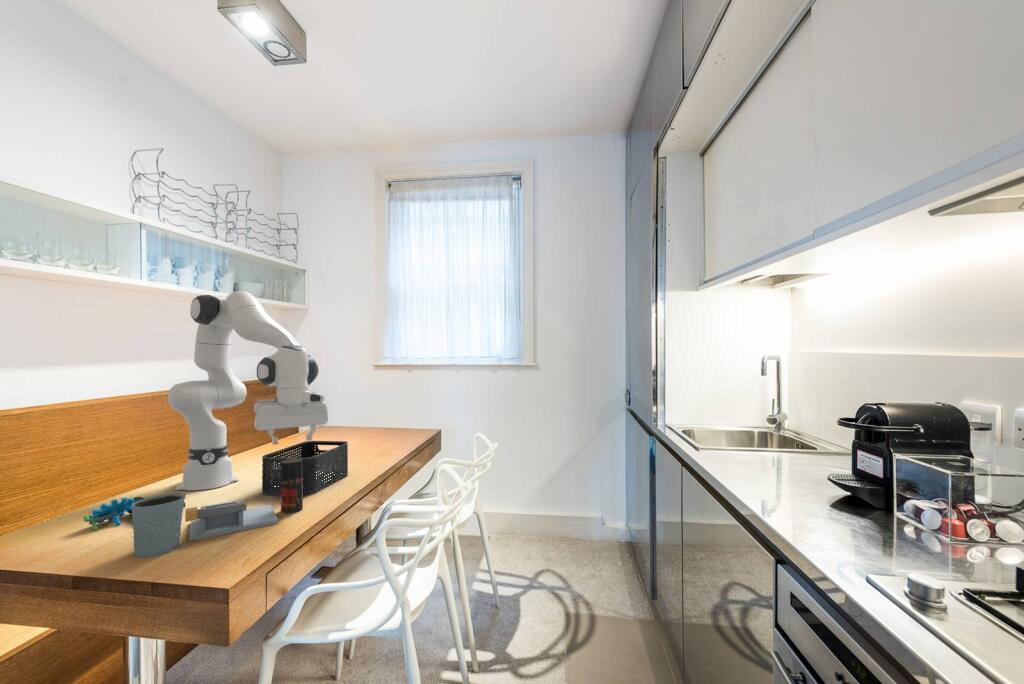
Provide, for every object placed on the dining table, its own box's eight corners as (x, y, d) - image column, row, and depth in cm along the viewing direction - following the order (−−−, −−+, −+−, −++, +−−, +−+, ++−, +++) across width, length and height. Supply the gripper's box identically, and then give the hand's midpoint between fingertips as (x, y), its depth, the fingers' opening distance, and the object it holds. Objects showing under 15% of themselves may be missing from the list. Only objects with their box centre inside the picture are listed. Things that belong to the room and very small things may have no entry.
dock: (191, 523, 122) (191, 506, 123) (271, 508, 134) (271, 493, 134) (189, 541, 110) (189, 522, 110) (277, 523, 122) (277, 506, 122)
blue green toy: (131, 509, 130) (135, 490, 125) (138, 525, 128) (143, 507, 123) (81, 526, 121) (83, 506, 116) (87, 544, 119) (90, 524, 114)
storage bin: (309, 497, 146) (309, 457, 146) (256, 495, 148) (257, 456, 149) (351, 474, 174) (351, 441, 174) (306, 473, 176) (306, 440, 177)
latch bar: (185, 518, 113) (185, 508, 113) (245, 508, 120) (245, 498, 121) (185, 521, 111) (185, 511, 111) (246, 510, 118) (246, 501, 118)
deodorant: (277, 510, 132) (278, 461, 133) (298, 505, 137) (298, 457, 137) (285, 515, 128) (285, 464, 129) (305, 509, 133) (306, 460, 133)
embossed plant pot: (122, 562, 99) (123, 509, 100) (139, 545, 108) (140, 496, 109) (176, 553, 103) (177, 502, 104) (188, 537, 112) (189, 491, 113)
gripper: (254, 400, 125) (254, 448, 125) (329, 395, 137) (329, 439, 136) (252, 398, 130) (252, 444, 130) (325, 394, 142) (324, 436, 142)
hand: (292, 442), depth 133 cm, fingers open, 8 cm apart
